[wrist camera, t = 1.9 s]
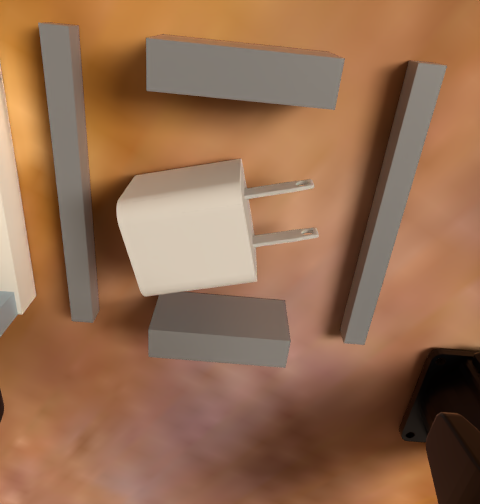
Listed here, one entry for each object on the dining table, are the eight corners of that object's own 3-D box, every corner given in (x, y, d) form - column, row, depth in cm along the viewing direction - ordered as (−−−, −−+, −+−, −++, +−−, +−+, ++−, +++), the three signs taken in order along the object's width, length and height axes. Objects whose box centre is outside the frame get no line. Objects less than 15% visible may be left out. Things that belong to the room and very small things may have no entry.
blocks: (359, 331, 22) (375, 374, 19) (79, 308, 21) (55, 349, 19) (435, 63, 16) (473, 72, 13) (50, 22, 15) (9, 23, 13)
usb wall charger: (138, 170, 18) (112, 207, 15) (304, 143, 18) (319, 175, 14) (162, 253, 20) (144, 304, 16) (312, 232, 19) (328, 279, 16)
